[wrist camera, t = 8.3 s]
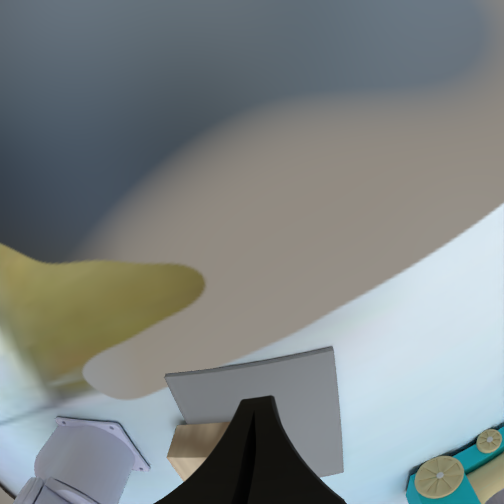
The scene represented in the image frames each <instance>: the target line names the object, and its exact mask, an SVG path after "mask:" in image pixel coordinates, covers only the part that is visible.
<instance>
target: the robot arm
mask: <svg viewBox="0 0 504 504" xmlns="http://www.w3.org/2000/svg"><path fill="white" fill-rule="evenodd" d="M55 421H56V423H57V424H58V427H57V428H56V429H55V431H54V432H53V434H52V435H51V436H50V438H49V439H48V441H47V442H46V443H45V445H44V446H43V448H42V449H41V450H40V452H39V453H38V455H37V457H36V459H35V464H34V471H35V476H36V477H31V478H30V479H29V480H28V482H27V483H26V484H25V486H24V487H23V488H22V490H21V491H20V493H19V494H18V496H17V497H16V499H15V501H14V502H13V504H118V503H119V500H120V498H121V495H122V493H123V490H124V488H125V485H126V483H127V480H128V478H129V475H130V473H131V470H136V471H149V470H150V467H149V466H148V465H147V463H146V462H145V461H144V459H143V458H142V457H141V455H140V454H139V452H138V451H137V450H136V448H135V447H134V445H133V444H132V442H131V441H130V440H129V438H128V437H127V435H126V434H125V432H124V431H123V429H122V428H121V426H120V425H119V424H118V423H113V422H98V421H87V420H77V419H68V418H61V417H56V419H55ZM154 504H346V502H345V501H344V499H342V498H341V497H340V496H339V495H337V494H336V493H335V492H334V491H333V490H331V489H330V488H329V487H328V486H327V485H326V484H325V483H324V482H323V481H322V480H321V479H320V478H319V477H318V476H317V475H316V474H315V473H314V472H313V471H312V469H311V468H310V467H309V466H308V465H307V464H306V462H305V461H304V460H303V458H302V457H301V456H300V454H299V453H298V452H297V450H296V449H295V447H294V445H293V444H292V442H291V441H290V439H289V437H288V435H287V434H286V432H285V430H284V428H283V426H282V423H281V420H280V416H279V412H278V408H277V405H276V401H275V397H274V396H272V395H269V396H262V397H256V398H249V399H242V400H241V401H240V403H239V405H238V408H237V410H236V412H235V414H234V416H233V418H232V420H231V422H230V424H229V425H228V427H227V429H226V431H225V432H224V434H223V436H222V437H221V439H220V440H219V442H218V443H217V445H216V446H215V448H214V449H213V450H212V452H211V453H210V454H209V456H208V457H207V458H206V459H205V461H204V462H203V463H202V464H201V465H200V466H199V468H198V469H197V470H196V471H195V472H194V473H193V474H192V475H191V476H190V477H189V478H188V479H186V480H185V481H184V482H183V483H182V484H181V485H179V486H178V487H177V488H176V489H174V490H173V491H172V492H171V493H169V494H168V495H167V496H165V497H164V498H162V499H161V500H159V501H157V502H156V503H154ZM485 504H504V488H503V489H502V490H500V491H499V492H497V493H496V494H494V495H493V496H492V497H490V498H489V499H488V500H487V501H486V502H485Z"/></svg>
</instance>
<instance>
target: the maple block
mask: <svg viewBox="0 0 504 504" xmlns="http://www.w3.org/2000/svg"><path fill="white" fill-rule="evenodd" d="M229 424H230V422H221V423H209V424H192V425H177V427H176V430H175V433H174V436H173V439H172V442H171V445H170V448H169V451H168V455H167V459H168V460H169V462H170V463H171V465H172V466H173V467H174V469H175V470H176V472H177V473H178V474H179V476H180V477H181V478H182V480H183V481H185V480H186V479H188V478H189V477H190V476H191V475H192V474H193V473H194V472H195V471H196V470H197V469H198V468H199V466H200V465H201V464H202V463H203V462H204V461H205V459H206V458H207V457H208V456H209V454H210V453H211V452H212V450H213V449H214V448H215V446H216V445H217V443H218V442H219V440H220V439H221V437H222V436H223V434H224V432H225V431H226V429H227V427H228V425H229Z"/></svg>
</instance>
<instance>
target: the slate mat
mask: <svg viewBox="0 0 504 504" xmlns="http://www.w3.org/2000/svg"><path fill="white" fill-rule="evenodd" d="M164 378H165V380H166V382H167V384H168V386H169V388H170V391H171V393H172V395H173V397H174V399H175V401H176V403H177V405H178V407H179V409H180V411H181V413H182V415H183V417H184V419H185V421H186V423H187V425H192V424H209V423H221V422H231V420H232V418H233V416H234V414H235V412H236V410H237V408H238V405H239V403H240V401H241V400H242V399H249V398H256V397H262V396H269V395H272V396H274V397H275V401H276V405H277V408H278V412H279V416H280V420H281V423H282V426H283V428H284V430H285V432H286V434H287V435H288V437H289V439H290V441H291V442H292V444H293V445H294V447H295V449H296V450H297V452H298V453H299V454H300V456H301V457H302V458H303V460H304V461H305V462H306V464H307V465H308V466H309V467H310V468H311V469H312V471H313V472H314V473H315V474H316V475H317V476H318V477H319V478H320V477H325V476H330V475H334V474H339V473H343V472H344V469H343V449H342V433H341V420H340V407H339V396H338V386H337V376H336V367H335V358H334V350H333V347H328V348H324V349H320V350H315V351H311V352H306V353H301V354H297V355H292V356H287V357H282V358H276V359H271V360H265V361H260V362H254V363H248V364H241V365H235V366H228V367H221V368H214V369H206V370H198V371H189V372H179V373H169V374H166V375H165V377H164Z"/></svg>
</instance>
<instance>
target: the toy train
mask: <svg viewBox="0 0 504 504" xmlns="http://www.w3.org/2000/svg"><path fill="white" fill-rule="evenodd" d="M503 488H504V427H502V428H501V429H499V430H494V429H488V430H486V431H484V432H482V433H481V434H480V435H479V436H478V438H477V441H476V444H475V445H473V446H471V447H469V448H467V449H466V450H464V451H462V452H460V453H458V454H456V455H454V456H452V457H450V456H438V457H435V458H433V459H430V460H428V461H426V462H425V463H424V464H423V465H422V466H421V467H420V468H419V469H418V471H417V473H415V474H413V475H411V476H410V480H409V484H408V488H407V493H406V497H407V500H408V503H409V504H485V502H486V501H487V500H488V499H489V498H490V497H492V496H493V495H494V494H496V493H497V492H499V491H500V490H502V489H503Z"/></svg>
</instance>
